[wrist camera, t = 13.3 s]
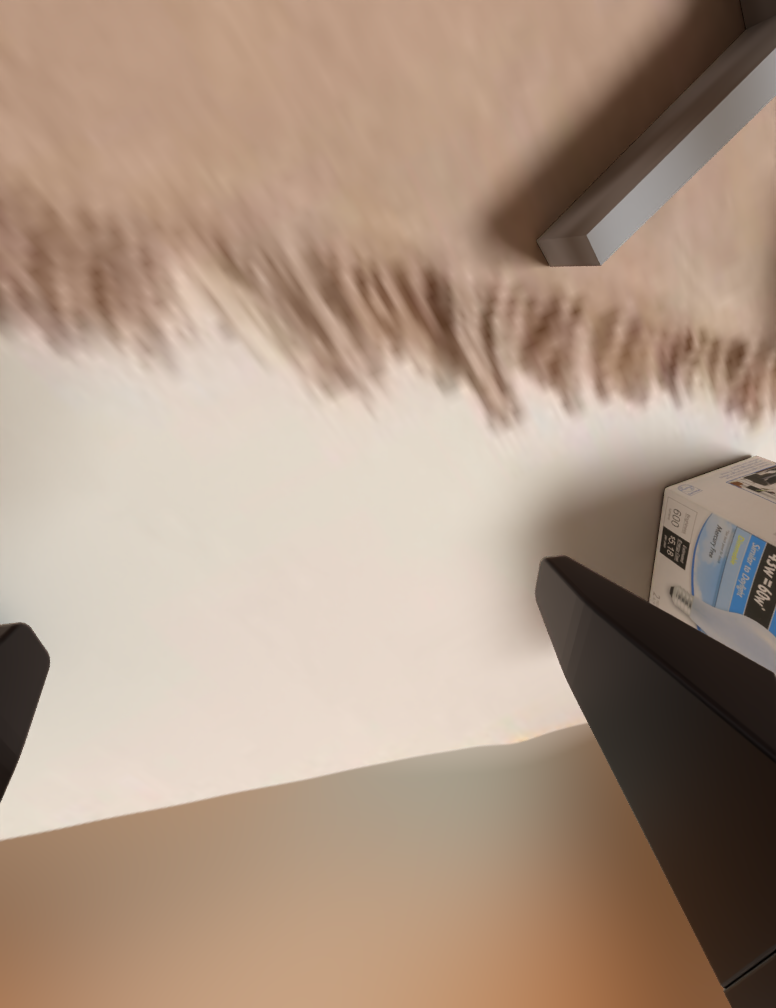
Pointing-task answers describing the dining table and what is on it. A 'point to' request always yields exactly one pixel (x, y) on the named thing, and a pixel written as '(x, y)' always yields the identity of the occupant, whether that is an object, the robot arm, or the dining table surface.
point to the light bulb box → (722, 557)
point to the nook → (671, 147)
